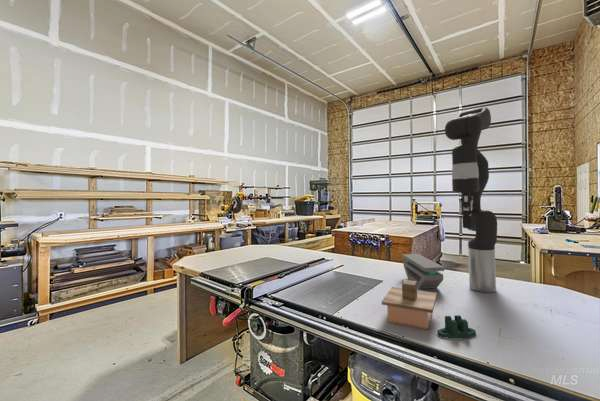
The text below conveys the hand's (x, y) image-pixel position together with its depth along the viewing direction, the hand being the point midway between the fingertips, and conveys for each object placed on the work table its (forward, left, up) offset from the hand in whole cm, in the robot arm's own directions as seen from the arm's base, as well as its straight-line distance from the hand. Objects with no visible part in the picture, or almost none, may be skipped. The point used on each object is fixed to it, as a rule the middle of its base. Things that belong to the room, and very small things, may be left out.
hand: (466, 226), depth 89 cm
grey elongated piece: (-27, -18, -30) cm, 44 cm away
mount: (+15, -4, -30) cm, 34 cm away
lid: (+10, -17, -24) cm, 31 cm away
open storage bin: (+10, -17, -30) cm, 36 cm away
